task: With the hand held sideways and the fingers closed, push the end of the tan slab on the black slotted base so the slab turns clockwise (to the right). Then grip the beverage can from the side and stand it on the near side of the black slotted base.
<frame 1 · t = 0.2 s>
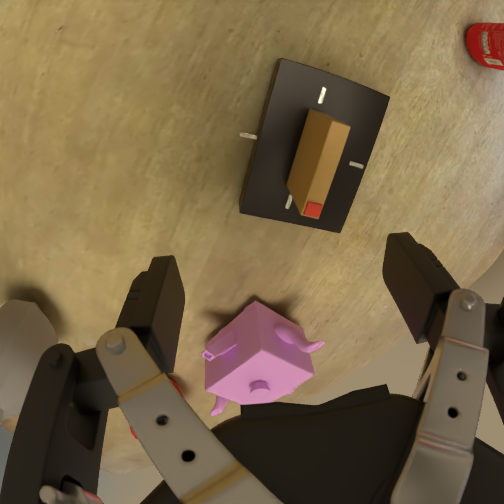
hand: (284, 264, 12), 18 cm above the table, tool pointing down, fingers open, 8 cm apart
beverage can: (477, 44, 21), on the table
bottle: (38, 306, 35), on the table
black slotted base: (310, 146, 27), on the table
teapot: (249, 326, 39), on the table
tan slab: (314, 159, 23), point 5 cm above the table, hinge at 0.0°
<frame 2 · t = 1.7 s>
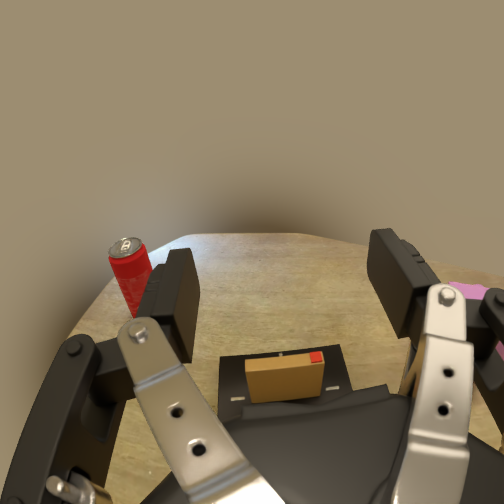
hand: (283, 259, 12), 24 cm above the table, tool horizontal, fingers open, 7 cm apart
beverage can: (150, 315, 45), on the table
black slotted base: (284, 396, 32), on the table
teapot: (460, 360, 31), on the table
tan slab: (285, 379, 28), point 5 cm above the table, hinge at 0.0°
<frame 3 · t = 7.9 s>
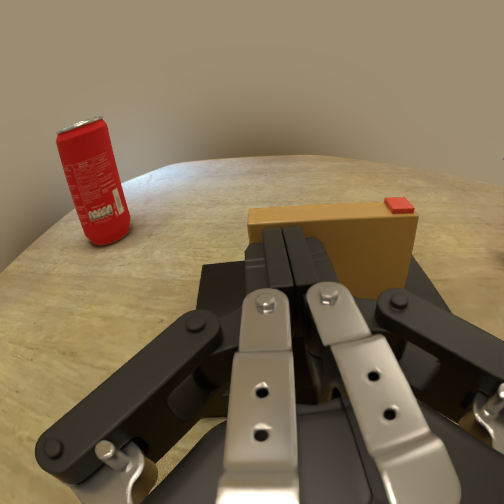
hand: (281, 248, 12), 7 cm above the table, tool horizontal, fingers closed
beverage can: (111, 236, 31), on the table
black slotted base: (322, 330, 17), on the table
tan slab: (332, 268, 14), point 5 cm above the table, hinge at -4.7°, touching gripper
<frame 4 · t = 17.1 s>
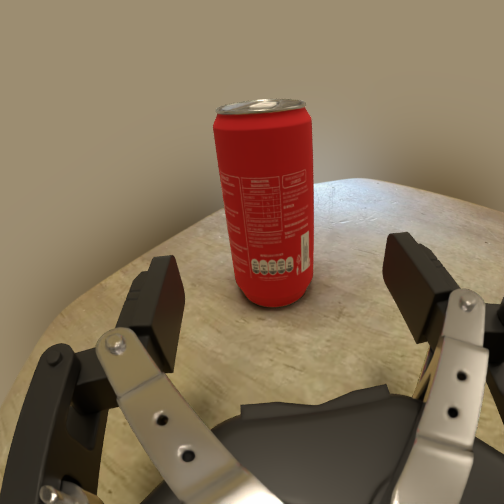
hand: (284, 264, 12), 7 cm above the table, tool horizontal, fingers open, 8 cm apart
beverage can: (275, 288, 22), on the table
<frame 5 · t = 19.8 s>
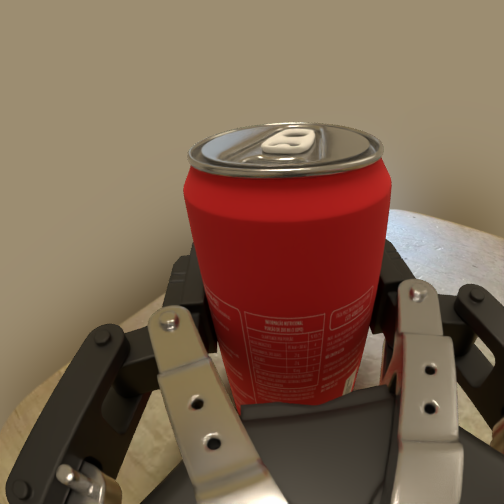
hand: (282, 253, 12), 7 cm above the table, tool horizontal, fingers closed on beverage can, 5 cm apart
beverage can: (292, 406, 14), on the table, touching gripper
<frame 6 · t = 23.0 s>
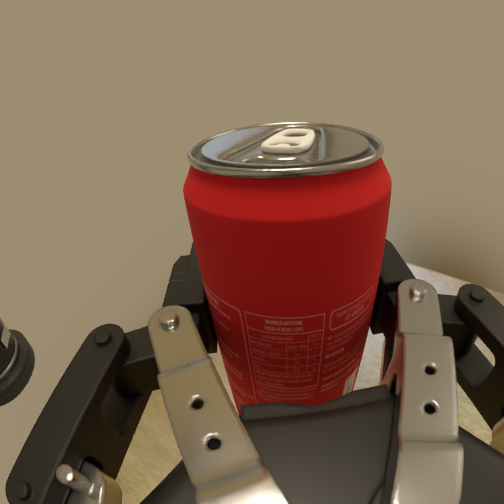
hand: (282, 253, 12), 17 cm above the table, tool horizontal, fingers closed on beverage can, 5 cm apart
beverage can: (292, 406, 14), point 10 cm above the table, touching gripper
when the fingers open (7 cm above the table, at t = 26.5 s): beverage can stays where it is, on the table.
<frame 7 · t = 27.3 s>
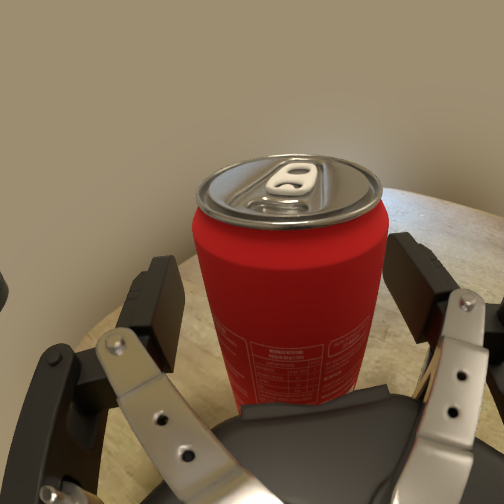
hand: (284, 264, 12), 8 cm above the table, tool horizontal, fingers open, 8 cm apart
beverage can: (293, 415, 14), on the table
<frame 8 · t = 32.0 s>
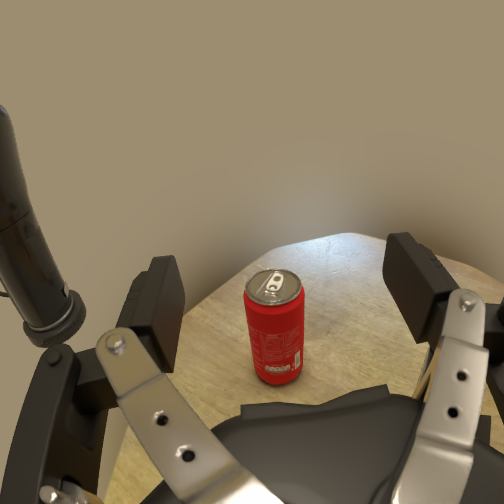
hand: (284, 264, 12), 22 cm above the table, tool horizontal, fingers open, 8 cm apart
beverage can: (278, 369, 33), on the table
black slotted base: (417, 461, 21), on the table
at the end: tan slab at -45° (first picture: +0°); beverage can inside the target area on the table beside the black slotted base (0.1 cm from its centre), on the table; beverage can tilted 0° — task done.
